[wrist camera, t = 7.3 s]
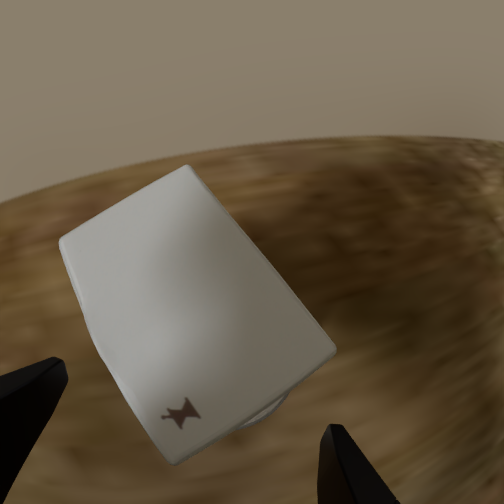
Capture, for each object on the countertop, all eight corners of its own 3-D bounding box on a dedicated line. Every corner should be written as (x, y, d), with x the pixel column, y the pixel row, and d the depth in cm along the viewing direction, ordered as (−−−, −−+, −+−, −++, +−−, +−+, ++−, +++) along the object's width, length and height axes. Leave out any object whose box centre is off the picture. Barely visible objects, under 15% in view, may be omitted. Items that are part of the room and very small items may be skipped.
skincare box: (281, 380, 16) (349, 355, 6) (218, 421, 15) (167, 477, 4) (220, 296, 18) (190, 155, 8) (161, 334, 17) (48, 240, 7)
